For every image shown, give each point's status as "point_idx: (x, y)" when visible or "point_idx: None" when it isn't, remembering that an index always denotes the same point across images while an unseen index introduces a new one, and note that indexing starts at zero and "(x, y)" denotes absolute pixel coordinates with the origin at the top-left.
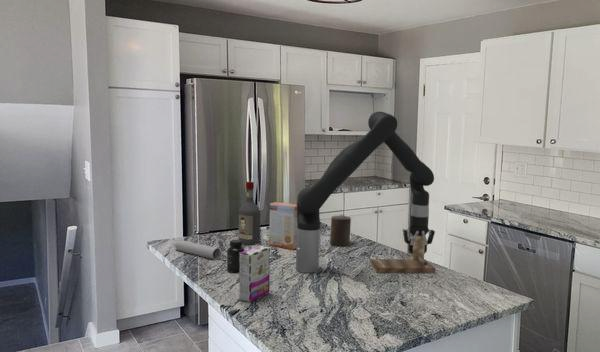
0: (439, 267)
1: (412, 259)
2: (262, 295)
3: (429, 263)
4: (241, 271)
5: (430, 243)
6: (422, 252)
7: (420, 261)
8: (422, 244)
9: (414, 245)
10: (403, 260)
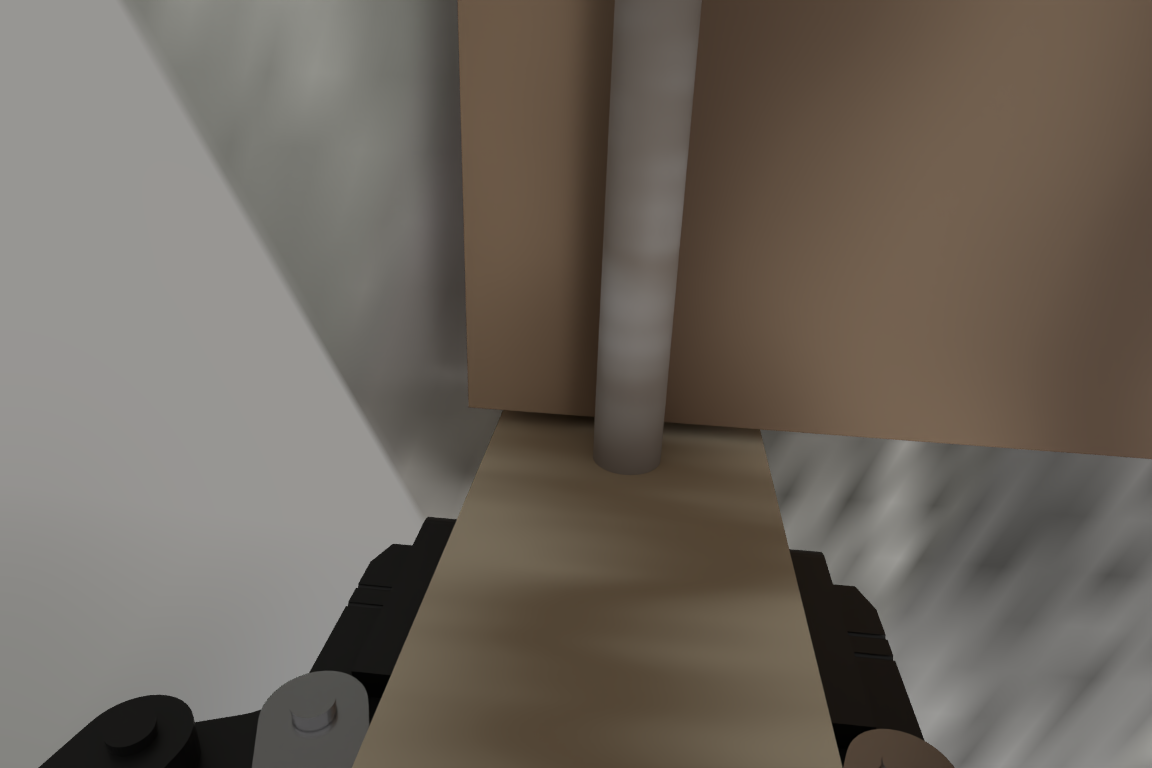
0: (251, 126)
1: (775, 426)
2: None
3: (473, 87)
4: None
5: (149, 708)
6: (509, 517)
7: None
8: (471, 697)
9: (784, 694)
10: (1049, 369)
